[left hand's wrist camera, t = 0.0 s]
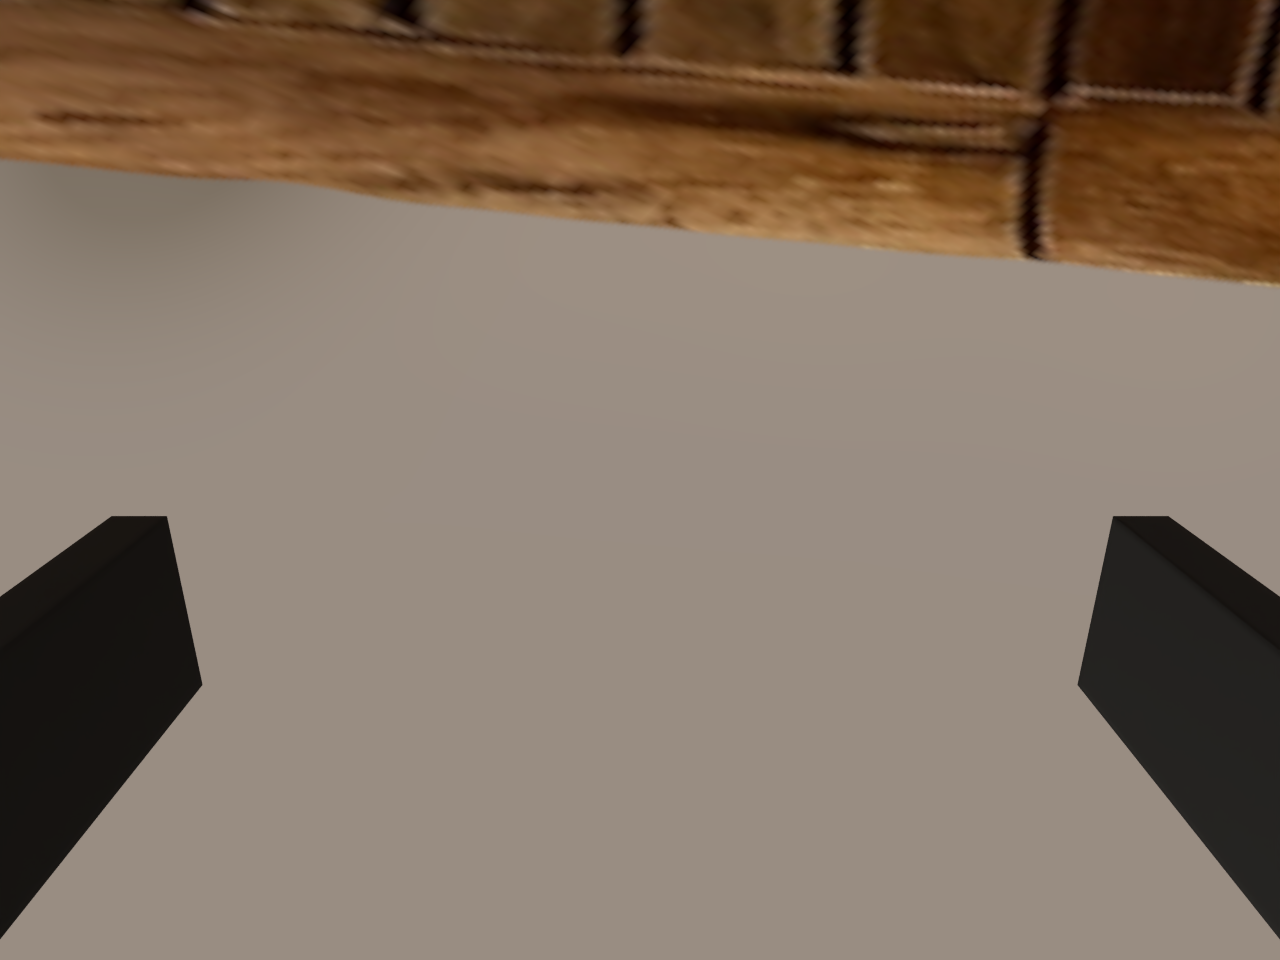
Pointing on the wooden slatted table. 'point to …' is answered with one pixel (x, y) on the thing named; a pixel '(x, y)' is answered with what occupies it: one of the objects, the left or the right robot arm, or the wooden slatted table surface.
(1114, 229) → the wooden slatted table surface
